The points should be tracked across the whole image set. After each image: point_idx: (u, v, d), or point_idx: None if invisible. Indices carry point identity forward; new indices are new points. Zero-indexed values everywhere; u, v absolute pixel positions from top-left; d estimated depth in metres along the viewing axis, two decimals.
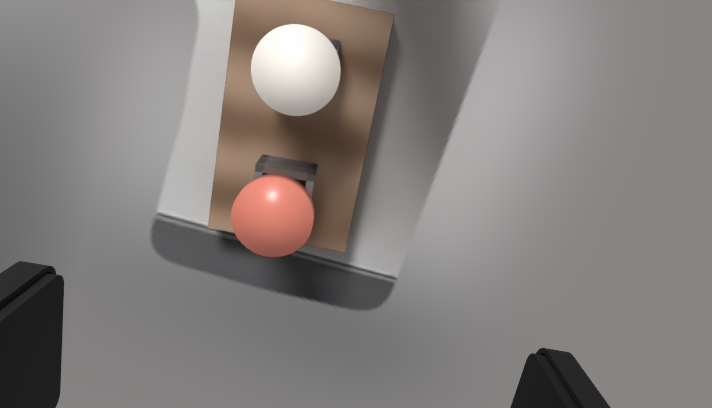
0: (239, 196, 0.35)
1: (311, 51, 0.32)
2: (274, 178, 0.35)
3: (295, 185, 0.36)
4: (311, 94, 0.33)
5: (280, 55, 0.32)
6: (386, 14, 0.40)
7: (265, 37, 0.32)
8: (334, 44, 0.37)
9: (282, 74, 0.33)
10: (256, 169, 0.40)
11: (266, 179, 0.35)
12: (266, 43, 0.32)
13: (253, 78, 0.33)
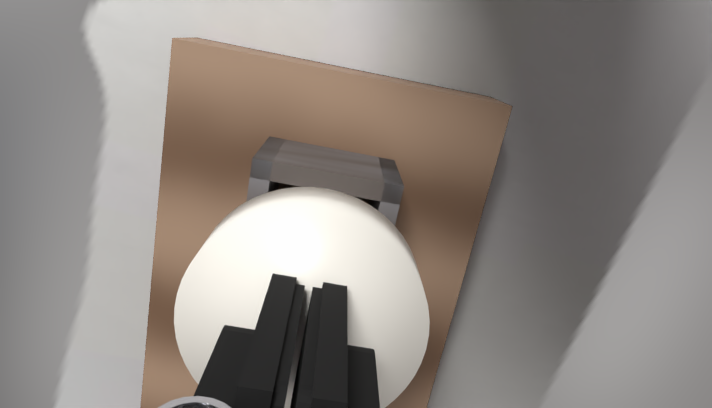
0: None
1: (348, 279, 0.11)
2: None
3: None
4: None
5: (258, 290, 0.11)
6: (495, 106, 0.19)
7: (213, 244, 0.11)
8: (391, 194, 0.16)
9: None
10: None
11: None
12: (216, 260, 0.11)
13: (180, 347, 0.12)
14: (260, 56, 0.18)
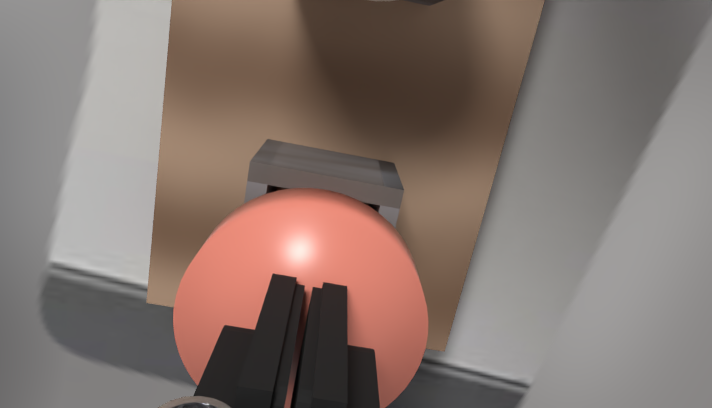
0: (198, 262, 0.11)
1: None
2: (309, 204, 0.11)
3: (376, 225, 0.11)
4: None
5: None
6: None
7: None
8: None
9: None
10: (252, 176, 0.15)
11: (284, 208, 0.11)
12: None
13: None
14: None
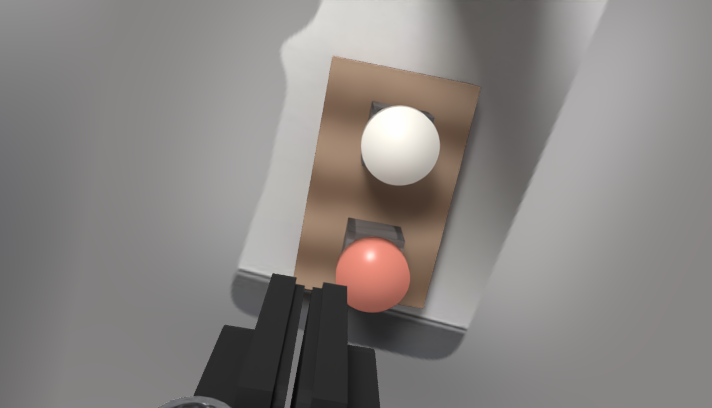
0: (344, 259, 0.39)
1: (415, 130, 0.37)
2: (375, 242, 0.39)
3: (394, 248, 0.39)
4: (413, 167, 0.38)
5: (388, 134, 0.37)
6: (473, 87, 0.42)
7: (375, 119, 0.37)
8: None
9: (388, 150, 0.37)
10: (348, 236, 0.41)
11: (369, 244, 0.39)
12: (376, 124, 0.37)
13: (362, 153, 0.37)
14: (370, 64, 0.41)
